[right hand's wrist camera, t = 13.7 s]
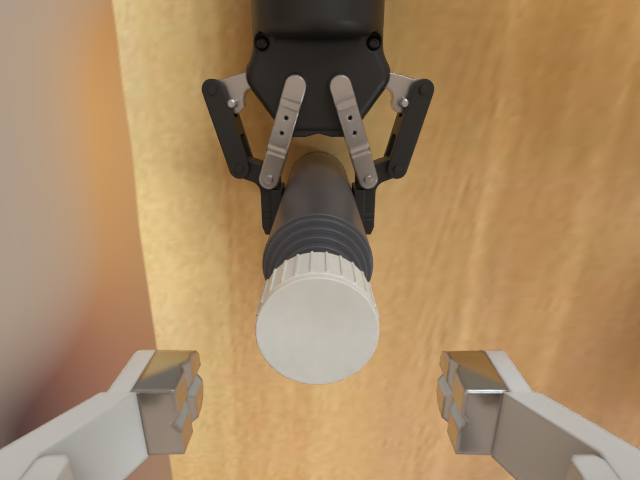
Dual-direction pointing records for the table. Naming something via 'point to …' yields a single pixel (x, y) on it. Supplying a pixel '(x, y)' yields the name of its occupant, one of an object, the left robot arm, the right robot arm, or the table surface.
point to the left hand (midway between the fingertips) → (318, 238)
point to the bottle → (318, 216)
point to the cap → (317, 319)
